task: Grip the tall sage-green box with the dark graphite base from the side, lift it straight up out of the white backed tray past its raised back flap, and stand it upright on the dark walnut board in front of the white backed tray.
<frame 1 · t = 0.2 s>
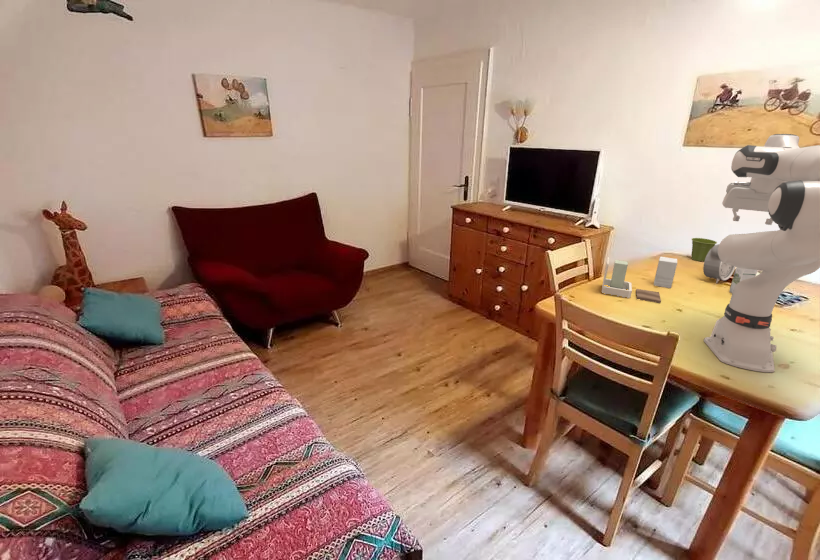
hand: (751, 222, 145), 39 cm above the table, tool pointing down, fingers open, 8 cm apart
white backed tray: (615, 291, 185), on the table
sage box: (615, 291, 185), resting in white backed tray
walnut board: (647, 296, 180), on the table
plant pot: (698, 260, 231), on the table
syrup box: (738, 294, 184), on the table
supplement box: (662, 285, 194), on the table
alarm clock: (715, 280, 200), on the table
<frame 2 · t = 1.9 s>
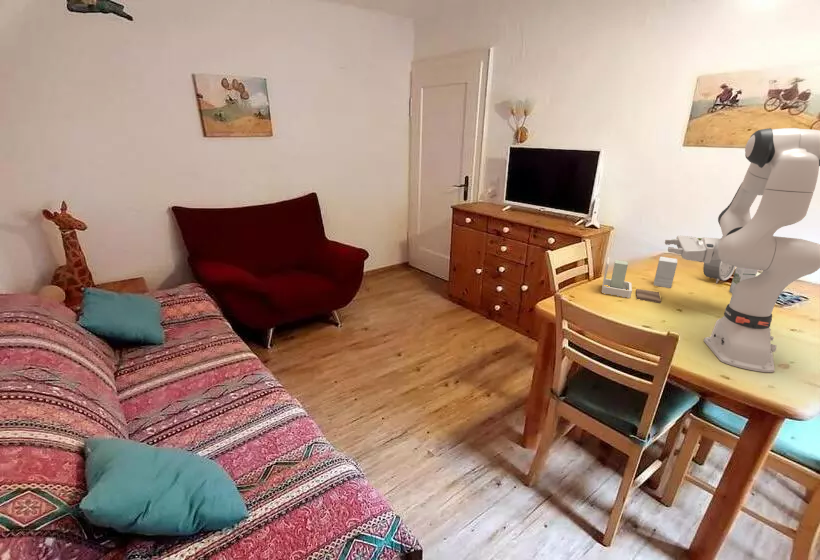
hand: (666, 245, 170), 24 cm above the table, tool horizontal, fingers open, 8 cm apart
nothing on the table moved.
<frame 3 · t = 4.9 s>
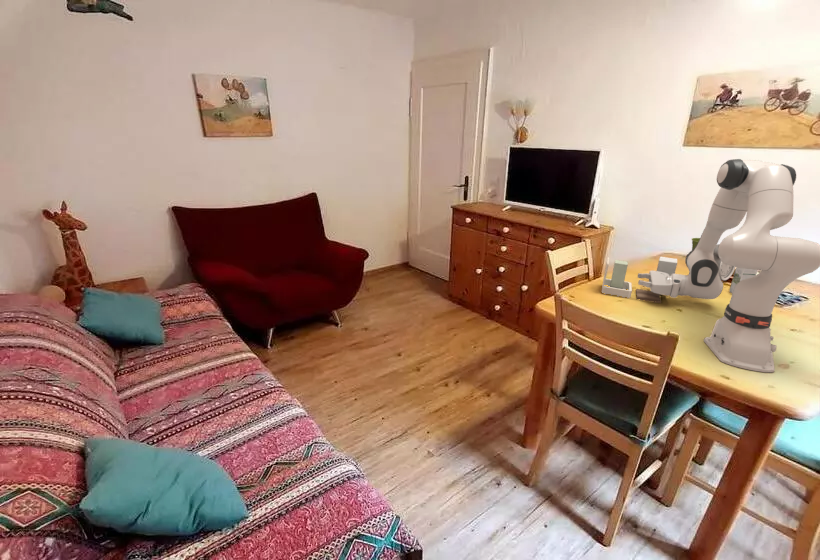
hand: (638, 278, 179), 8 cm above the table, tool horizontal, fingers open, 8 cm apart
nothing on the table moved.
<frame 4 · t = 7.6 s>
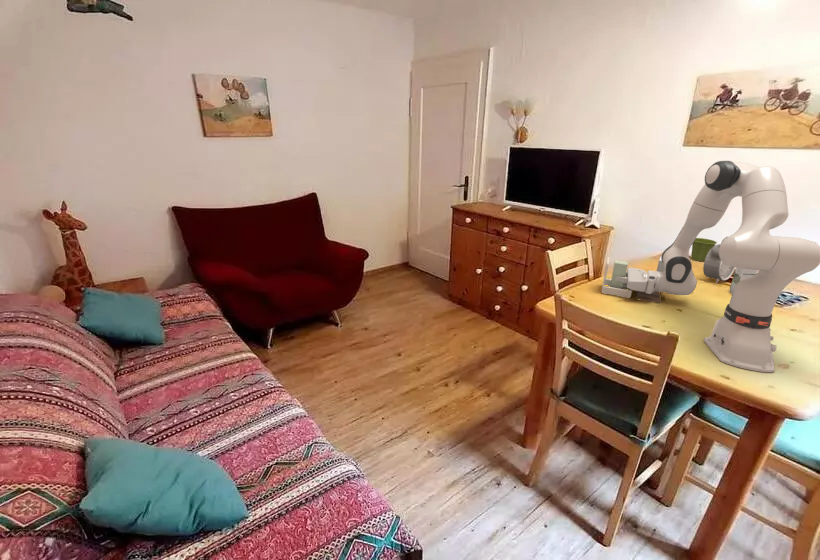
hand: (615, 275, 183), 8 cm above the table, tool horizontal, fingers closed on sage box, 5 cm apart
sage box: (615, 291, 185), resting in white backed tray, touching gripper
everything else where it was.
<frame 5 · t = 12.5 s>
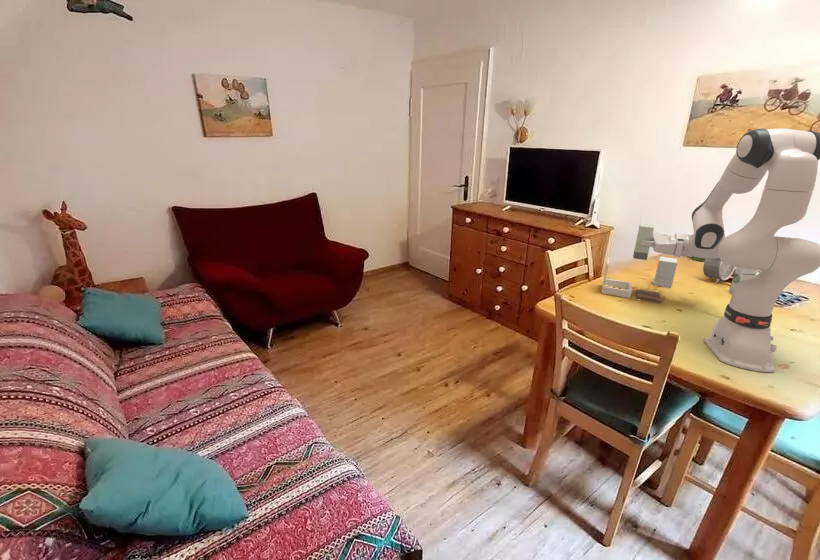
hand: (640, 240, 174), 25 cm above the table, tool horizontal, fingers closed on sage box, 5 cm apart
sage box: (639, 257, 176), point 17 cm above the table, touching gripper
everything else where it was.
when the fingers open (10 cm above the table, at t = 17.4 s): sage box drops 1 cm, resting on walnut board.
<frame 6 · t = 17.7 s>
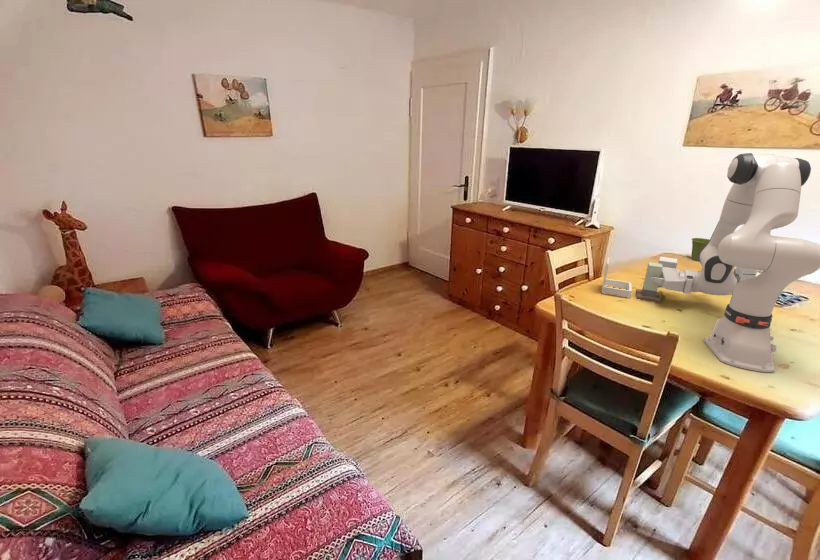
hand: (649, 275, 177), 10 cm above the table, tool horizontal, fingers open, 8 cm apart
sage box: (648, 294, 180), point 1 cm above the table, touching walnut board
everything else where it was.
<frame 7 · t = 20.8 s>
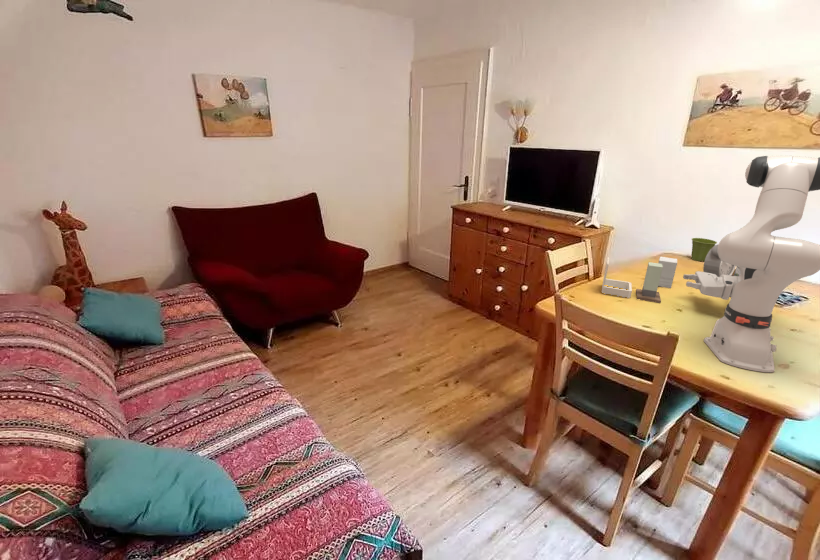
hand: (684, 280, 172), 10 cm above the table, tool horizontal, fingers open, 8 cm apart
nothing on the table moved.
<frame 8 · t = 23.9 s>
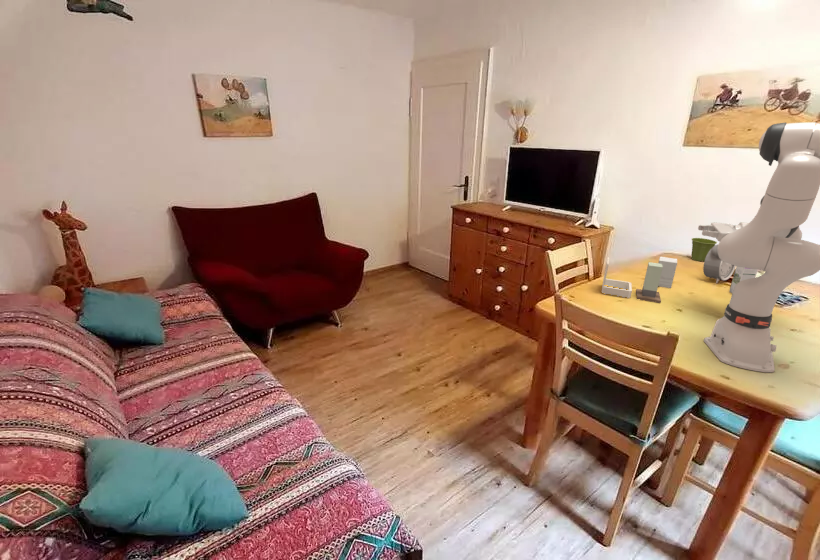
hand: (700, 230, 162), 32 cm above the table, tool horizontal, fingers open, 8 cm apart
nothing on the table moved.
at the end: sage box inside the target area on the walnut board (0.0 cm from its centre), point 1.0 cm above the walnut board's base; sage box tilted 0°; the gripper is holding nothing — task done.
